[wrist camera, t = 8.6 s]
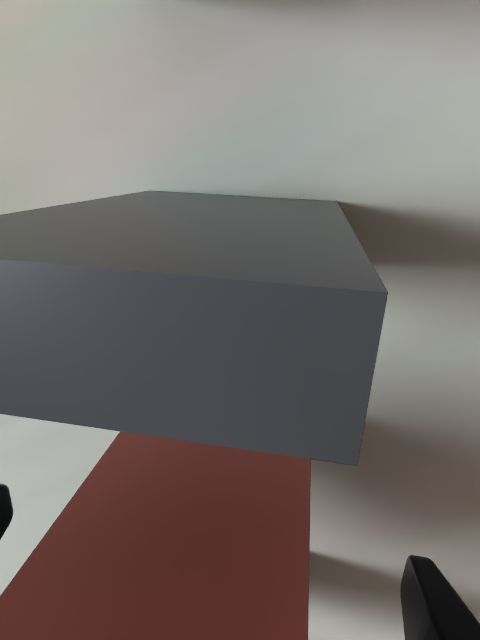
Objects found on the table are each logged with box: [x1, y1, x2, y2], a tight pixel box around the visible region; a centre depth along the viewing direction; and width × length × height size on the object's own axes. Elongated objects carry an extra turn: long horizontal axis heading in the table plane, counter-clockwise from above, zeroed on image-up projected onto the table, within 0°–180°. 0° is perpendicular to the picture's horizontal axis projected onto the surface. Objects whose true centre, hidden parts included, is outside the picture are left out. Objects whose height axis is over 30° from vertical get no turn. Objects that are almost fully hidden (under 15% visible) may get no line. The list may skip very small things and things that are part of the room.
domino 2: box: [0, 431, 311, 640], centre depth 10 cm, size 2×5×8 cm, turn 87°
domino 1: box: [0, 191, 388, 466], centre depth 7 cm, size 2×5×8 cm, turn 88°
